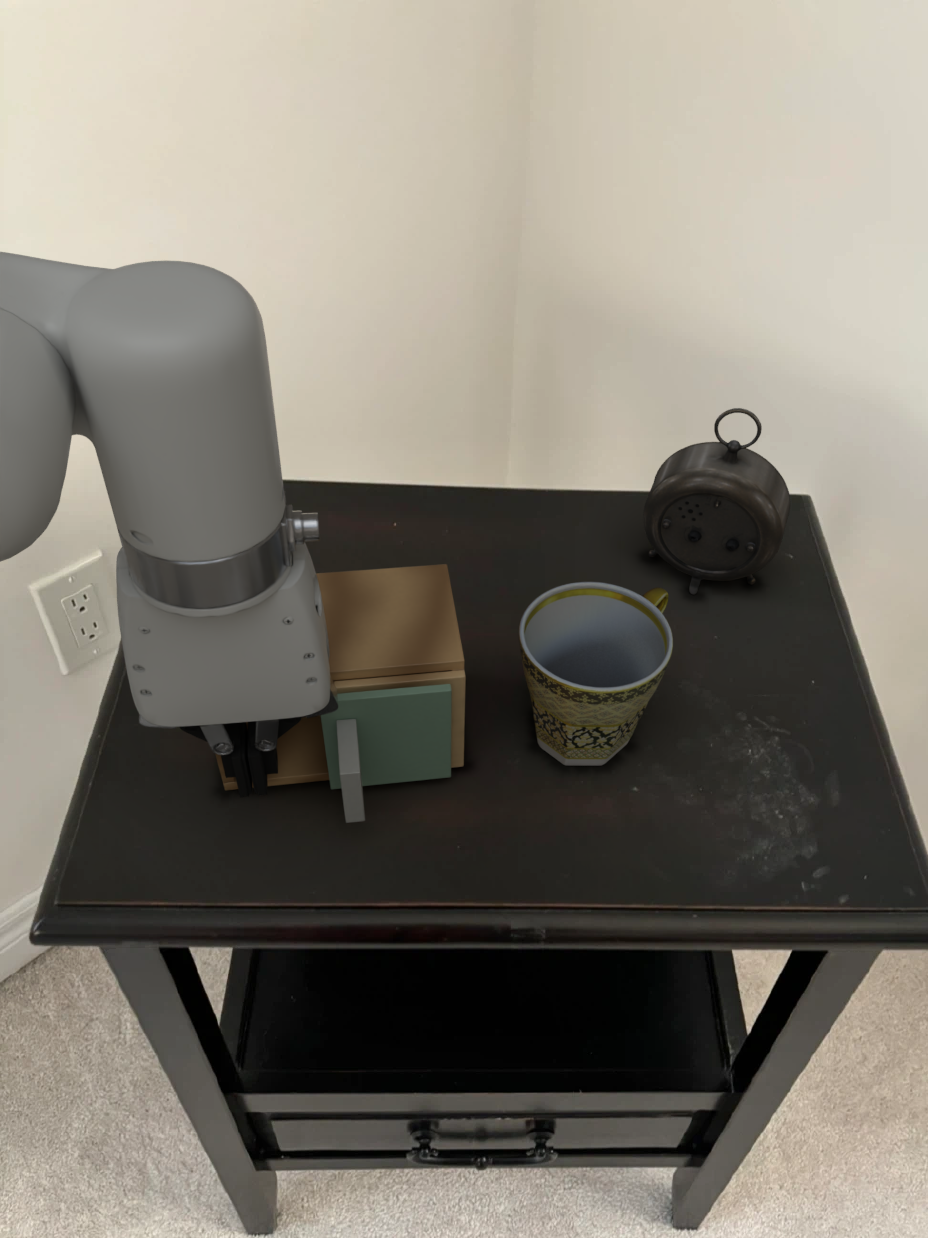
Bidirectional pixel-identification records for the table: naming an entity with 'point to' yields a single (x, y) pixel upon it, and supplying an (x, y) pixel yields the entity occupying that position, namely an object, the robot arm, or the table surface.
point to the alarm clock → (717, 509)
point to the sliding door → (387, 740)
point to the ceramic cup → (592, 666)
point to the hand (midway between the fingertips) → (254, 776)
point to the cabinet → (379, 654)
